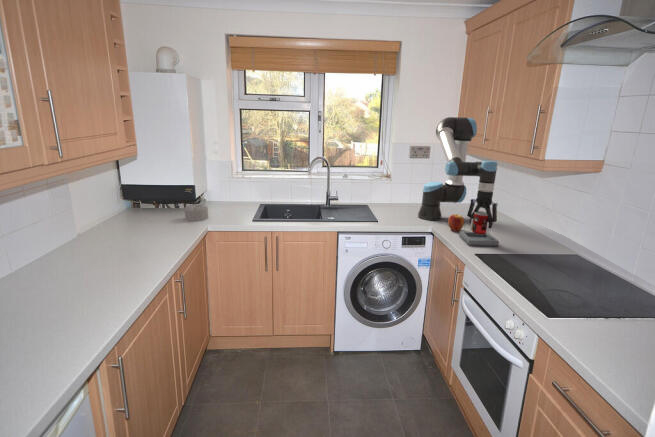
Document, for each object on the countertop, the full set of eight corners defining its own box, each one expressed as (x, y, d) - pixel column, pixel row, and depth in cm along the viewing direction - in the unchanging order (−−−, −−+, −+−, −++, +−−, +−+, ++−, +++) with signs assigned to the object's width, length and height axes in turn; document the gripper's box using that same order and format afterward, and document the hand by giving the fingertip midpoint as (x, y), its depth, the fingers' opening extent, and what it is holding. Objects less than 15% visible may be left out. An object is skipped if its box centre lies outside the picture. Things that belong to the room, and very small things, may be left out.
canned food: (472, 229, 208) (475, 210, 205) (487, 231, 204) (490, 212, 202) (470, 232, 201) (473, 213, 198) (486, 235, 198) (489, 215, 195)
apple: (443, 229, 223) (445, 213, 221) (452, 227, 229) (454, 211, 226) (457, 233, 217) (459, 217, 214) (466, 230, 222) (468, 214, 220)
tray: (459, 236, 212) (460, 231, 211) (487, 237, 212) (487, 232, 211) (468, 245, 197) (469, 240, 196) (498, 246, 197) (499, 241, 196)
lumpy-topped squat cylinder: (184, 218, 231) (183, 204, 228) (205, 215, 237) (205, 202, 235) (188, 222, 222) (187, 208, 220) (210, 219, 229) (209, 206, 226)
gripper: (463, 188, 201) (458, 228, 208) (502, 194, 187) (495, 238, 193) (470, 186, 206) (464, 226, 213) (508, 193, 192) (501, 235, 198)
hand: (479, 231), depth 203 cm, fingers closed on canned food, 8 cm apart
